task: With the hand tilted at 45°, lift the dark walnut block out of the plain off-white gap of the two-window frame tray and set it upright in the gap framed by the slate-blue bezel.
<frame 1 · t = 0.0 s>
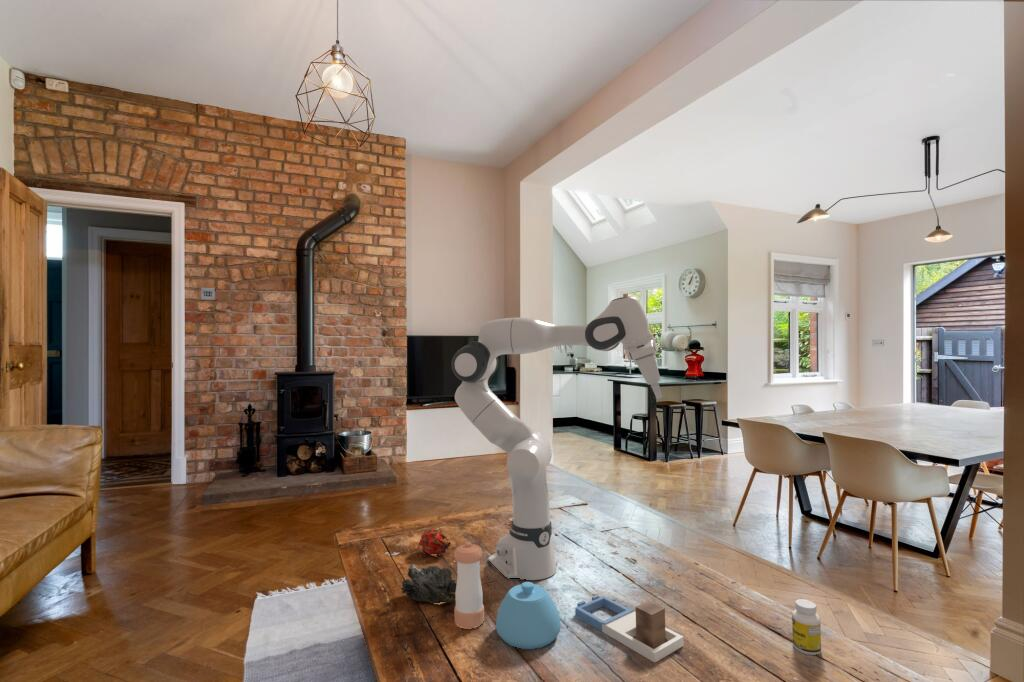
hand: (658, 396, 146), 52 cm above the table, fingers open, 8 cm apart
walnut block: (650, 643, 115), resting in two-window frame tray
two-window frame tray: (626, 629, 121), on the table
pepper shaker: (469, 622, 126), on the table
mineral specimen: (431, 600, 137), on the table
supplement bottle: (806, 649, 112), on the table
dragon fruit: (435, 554, 167), on the table
sugar bowl: (528, 635, 120), on the table
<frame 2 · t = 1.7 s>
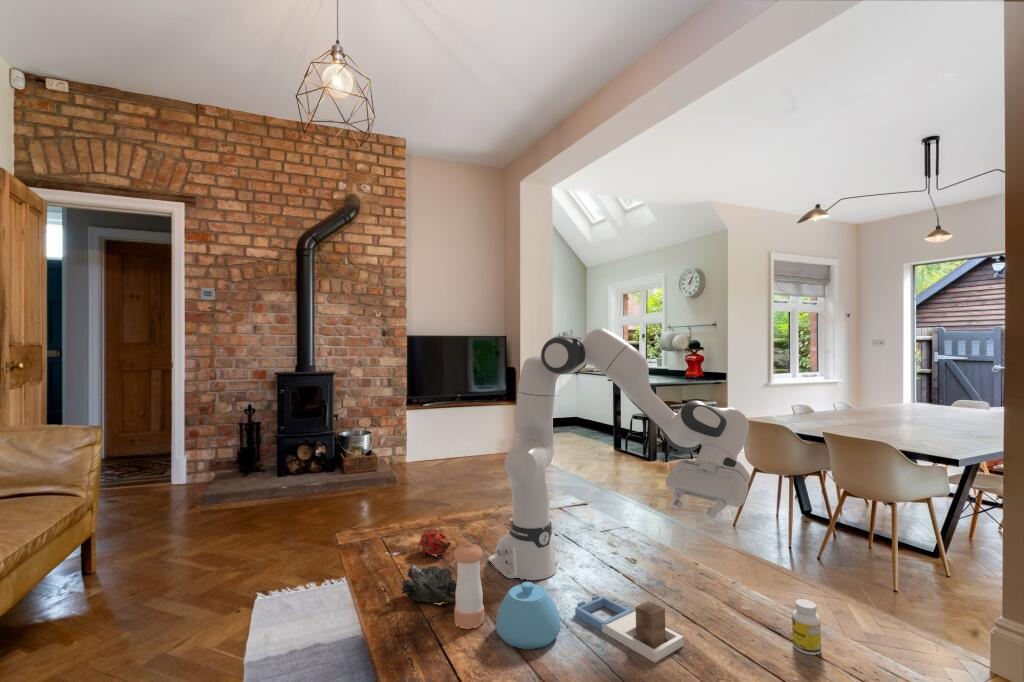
hand: (692, 511, 125), 26 cm above the table, fingers open, 8 cm apart
nothing on the table moved.
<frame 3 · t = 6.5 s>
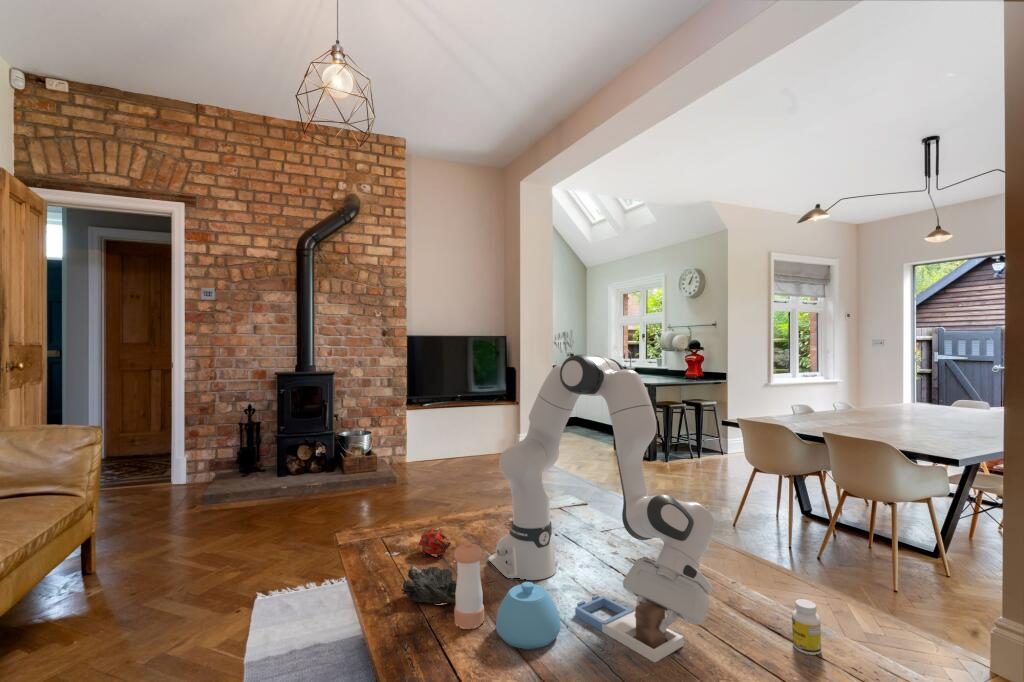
hand: (648, 624, 115), 4 cm above the table, fingers closed on walnut block, 4 cm apart
walnut block: (650, 643, 115), resting in two-window frame tray, touching gripper
everything else where it was.
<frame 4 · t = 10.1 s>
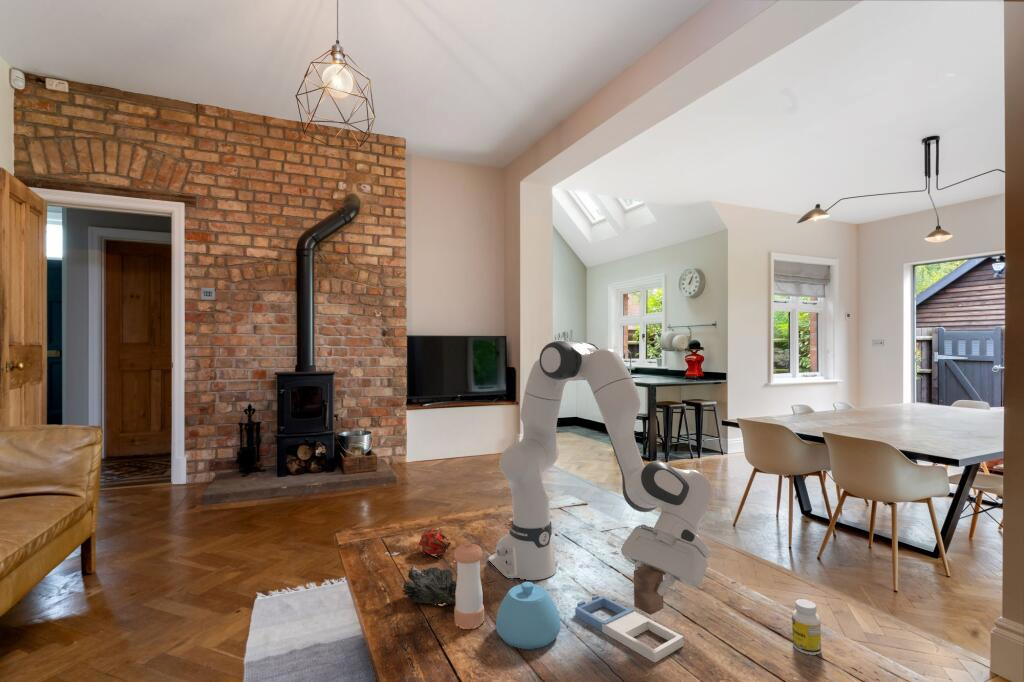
hand: (646, 588, 115), 12 cm above the table, fingers closed on walnut block, 4 cm apart
walnut block: (648, 607, 116), point 8 cm above the table, touching gripper
everything else where it was.
when the fingers open (6 cm above the table, at t = 13.6 s): walnut block drops 2 cm, resting in two-window frame tray.
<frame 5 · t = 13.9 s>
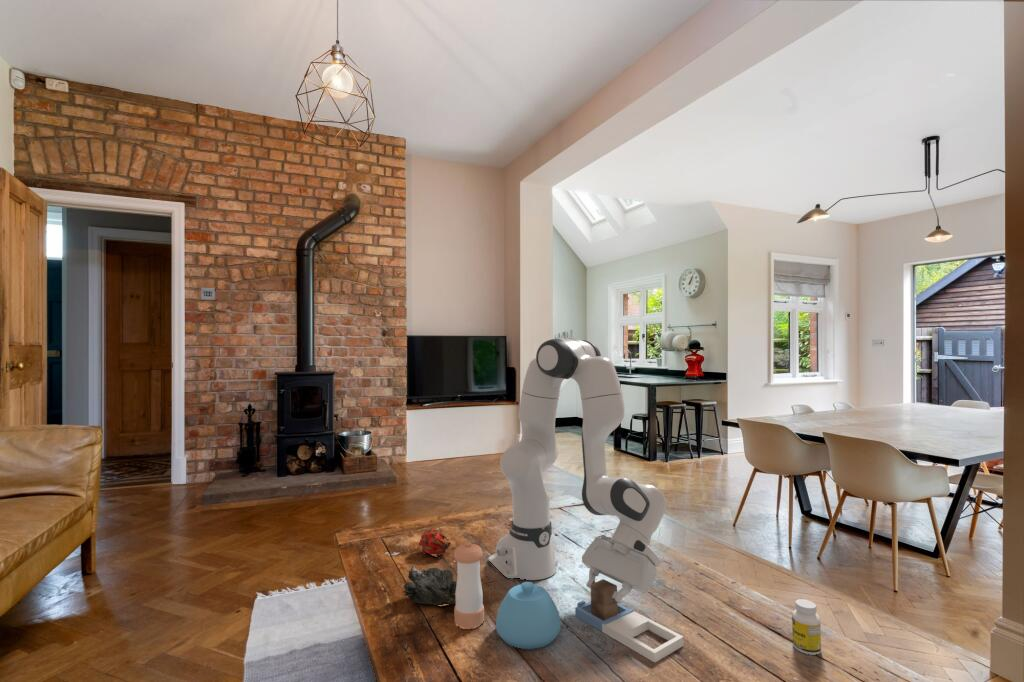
hand: (602, 594, 126), 6 cm above the table, fingers open, 7 cm apart
walnut block: (604, 617, 127), resting in two-window frame tray
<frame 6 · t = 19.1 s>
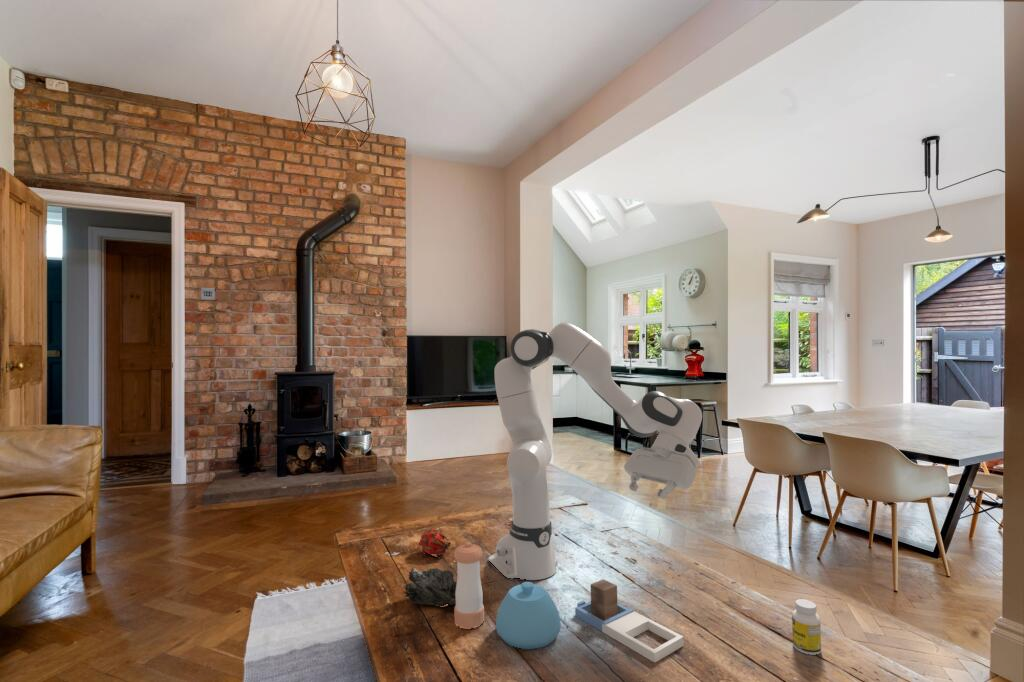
hand: (645, 493, 137), 27 cm above the table, fingers open, 8 cm apart
at the end: walnut block 0.0 cm from the target spot on the two-window frame tray, point 0.0 cm above the two-window frame tray's base; walnut block tilted 0°; the gripper is holding nothing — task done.
